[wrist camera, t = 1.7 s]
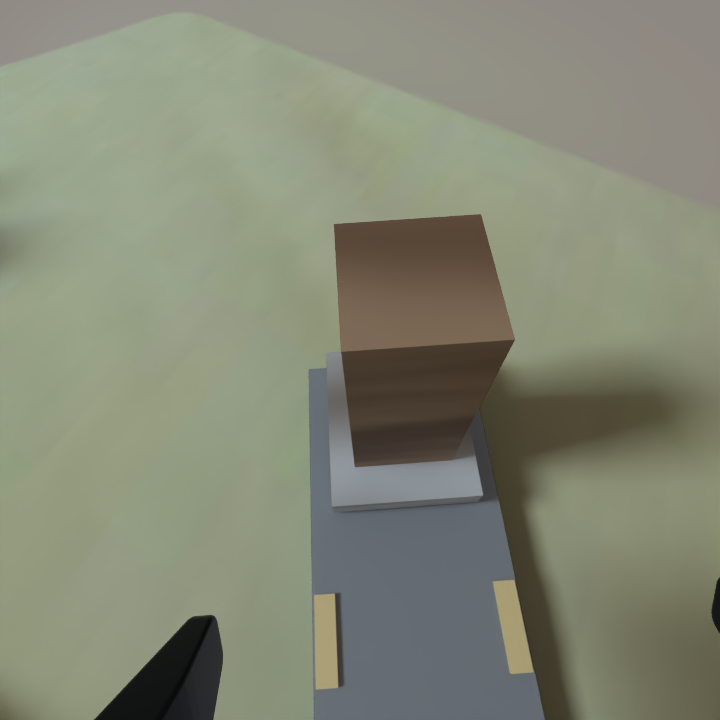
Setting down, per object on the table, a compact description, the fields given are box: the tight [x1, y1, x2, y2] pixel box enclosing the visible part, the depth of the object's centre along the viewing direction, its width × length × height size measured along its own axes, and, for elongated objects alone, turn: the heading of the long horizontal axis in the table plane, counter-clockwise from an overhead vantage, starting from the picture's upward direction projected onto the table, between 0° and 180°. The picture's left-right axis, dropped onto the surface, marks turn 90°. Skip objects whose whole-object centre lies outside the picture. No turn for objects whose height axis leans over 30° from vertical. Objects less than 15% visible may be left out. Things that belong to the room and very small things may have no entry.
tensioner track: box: [309, 368, 545, 720], centre depth 18 cm, size 18×8×4 cm, turn 4°
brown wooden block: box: [326, 214, 515, 513], centre depth 16 cm, size 7×6×11 cm
